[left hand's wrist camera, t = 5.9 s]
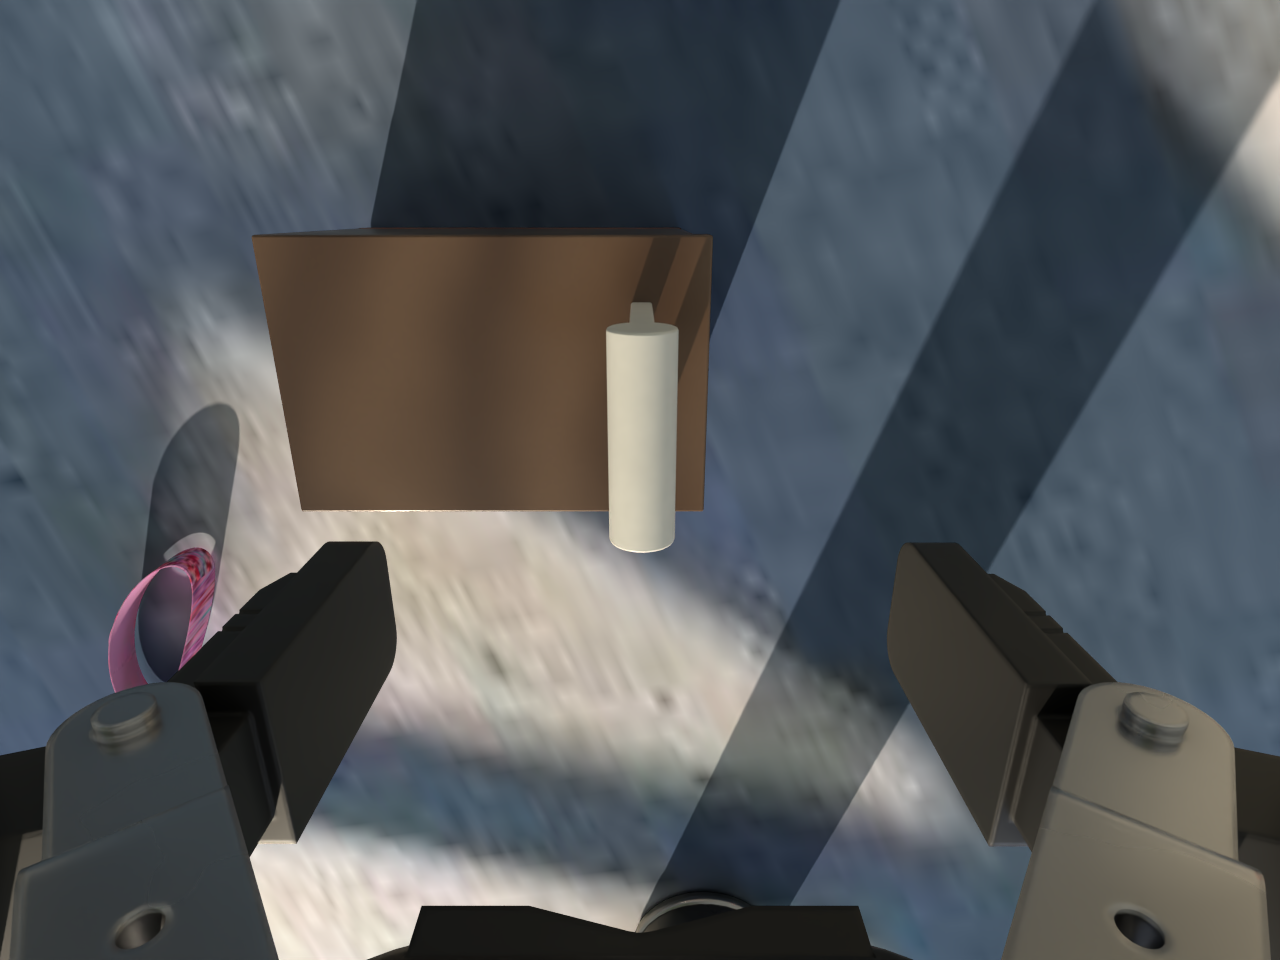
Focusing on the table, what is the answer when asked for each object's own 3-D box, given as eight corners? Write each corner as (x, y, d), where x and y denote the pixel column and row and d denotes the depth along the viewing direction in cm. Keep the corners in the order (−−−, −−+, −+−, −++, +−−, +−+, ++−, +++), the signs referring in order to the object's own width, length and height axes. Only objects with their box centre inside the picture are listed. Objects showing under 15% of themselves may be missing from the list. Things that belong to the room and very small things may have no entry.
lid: (709, 233, 24) (745, 244, 16) (700, 499, 28) (726, 618, 19) (269, 233, 24) (83, 245, 16) (315, 499, 28) (181, 618, 19)
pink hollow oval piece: (152, 529, 38) (125, 548, 36) (225, 555, 39) (203, 574, 37) (119, 684, 42) (93, 709, 40) (187, 705, 42) (165, 730, 40)
